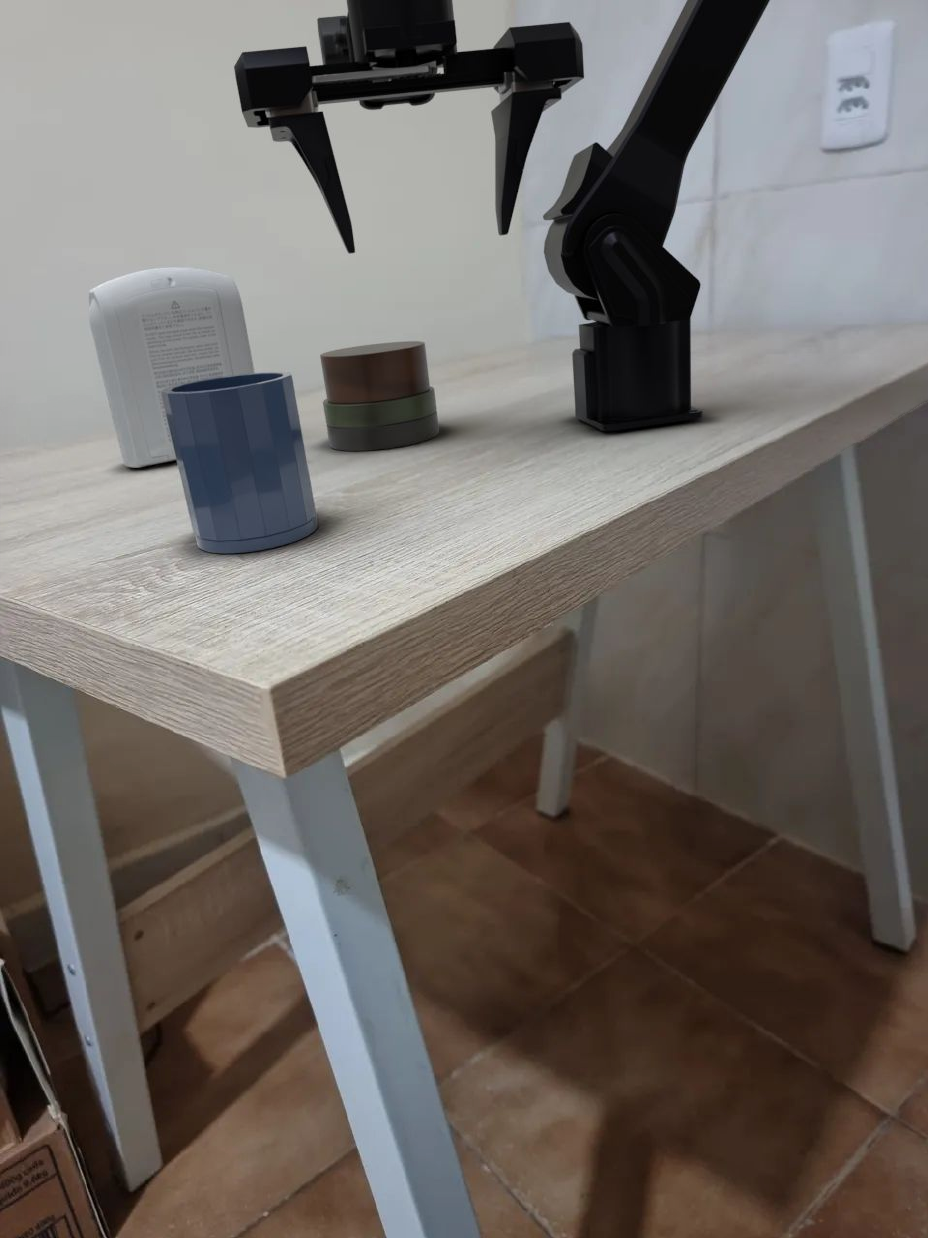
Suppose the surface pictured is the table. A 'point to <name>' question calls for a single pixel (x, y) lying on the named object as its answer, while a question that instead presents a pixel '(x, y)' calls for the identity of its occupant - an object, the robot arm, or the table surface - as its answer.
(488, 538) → the table surface
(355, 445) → the green and grey disc
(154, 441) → the photo printer
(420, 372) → the walnut chip
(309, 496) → the blue cup
